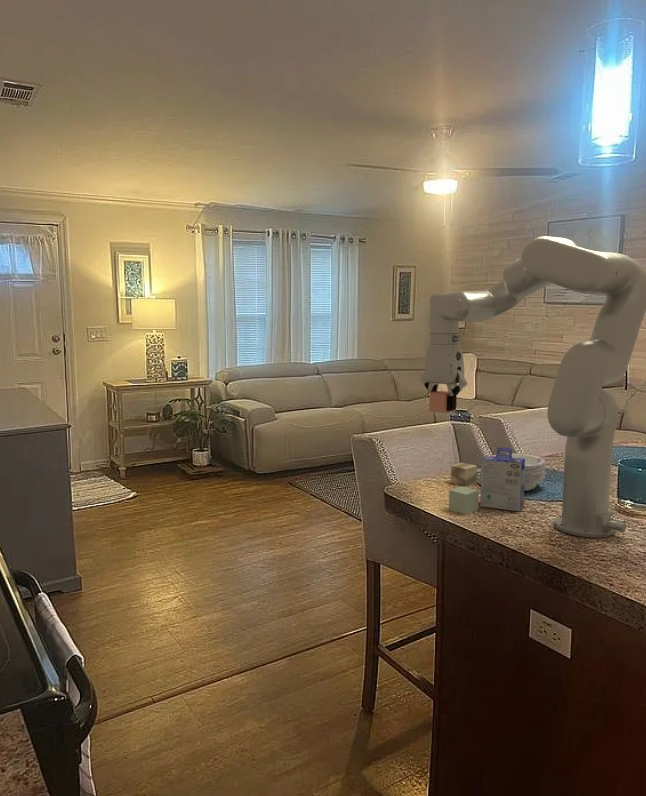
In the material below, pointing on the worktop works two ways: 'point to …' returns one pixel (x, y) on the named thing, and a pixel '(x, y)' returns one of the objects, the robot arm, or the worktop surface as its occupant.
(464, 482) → the maple block
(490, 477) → the ink cartridge box
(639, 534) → the worktop surface
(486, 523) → the worktop surface
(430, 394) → the coral block
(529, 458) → the paper bowls
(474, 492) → the sage block
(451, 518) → the worktop surface
